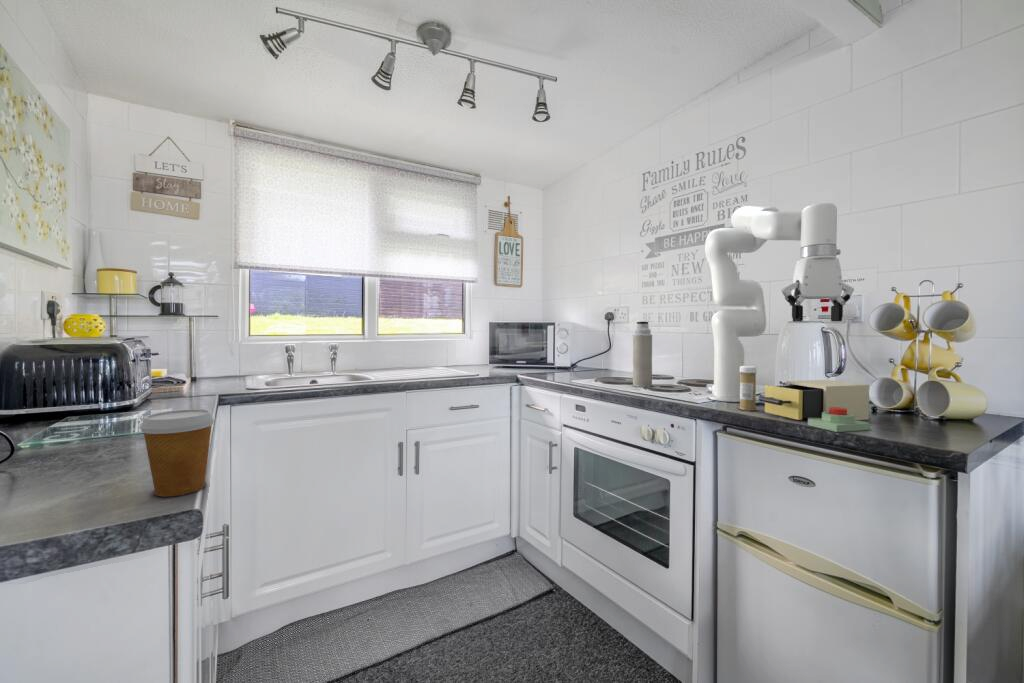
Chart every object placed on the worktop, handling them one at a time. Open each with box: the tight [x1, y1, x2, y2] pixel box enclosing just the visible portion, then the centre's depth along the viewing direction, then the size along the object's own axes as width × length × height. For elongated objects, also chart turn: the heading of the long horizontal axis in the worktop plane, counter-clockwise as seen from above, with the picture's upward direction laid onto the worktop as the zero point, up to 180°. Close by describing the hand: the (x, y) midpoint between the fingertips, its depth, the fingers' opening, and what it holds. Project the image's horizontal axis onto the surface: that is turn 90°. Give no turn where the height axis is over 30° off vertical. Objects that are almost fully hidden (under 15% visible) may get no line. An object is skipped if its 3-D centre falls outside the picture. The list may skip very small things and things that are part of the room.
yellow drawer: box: [757, 384, 824, 421], centre depth 124 cm, size 18×11×8 cm, turn 103°
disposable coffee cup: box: [139, 408, 216, 498], centre depth 70 cm, size 10×10×12 cm
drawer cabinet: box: [786, 379, 870, 421], centre depth 126 cm, size 15×13×10 cm
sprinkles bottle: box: [739, 365, 757, 412], centre depth 136 cm, size 5×5×13 cm
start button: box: [829, 407, 847, 415], centre depth 112 cm, size 4×4×2 cm
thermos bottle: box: [632, 321, 653, 388], centre depth 193 cm, size 8×8×28 cm
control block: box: [807, 411, 870, 433], centre depth 112 cm, size 8×10×4 cm
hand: (816, 321), depth 114 cm, fingers open, 9 cm apart
